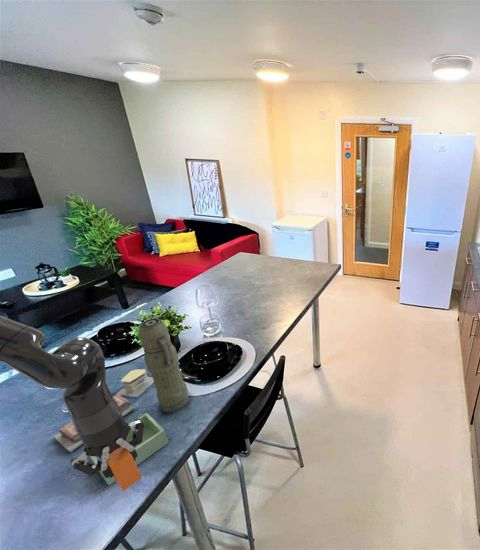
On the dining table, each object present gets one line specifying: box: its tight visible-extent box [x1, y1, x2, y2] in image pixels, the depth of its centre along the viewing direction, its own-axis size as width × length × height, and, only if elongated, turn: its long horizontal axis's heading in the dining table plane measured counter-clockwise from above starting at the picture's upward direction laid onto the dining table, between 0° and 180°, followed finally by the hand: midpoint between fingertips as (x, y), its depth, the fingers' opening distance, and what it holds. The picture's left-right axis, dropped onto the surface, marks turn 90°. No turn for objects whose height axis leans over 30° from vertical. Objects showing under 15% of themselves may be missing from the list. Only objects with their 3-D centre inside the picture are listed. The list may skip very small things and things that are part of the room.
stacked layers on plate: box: [116, 368, 154, 398], centre depth 111 cm, size 10×9×6 cm
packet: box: [108, 446, 143, 492], centre depth 72 cm, size 4×7×8 cm, turn 58°
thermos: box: [138, 318, 190, 413], centre depth 99 cm, size 9×12×35 cm
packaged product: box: [53, 393, 135, 453], centre depth 96 cm, size 18×5×10 cm
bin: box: [88, 412, 169, 486], centre depth 88 cm, size 16×12×6 cm
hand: (121, 467), depth 72 cm, fingers closed on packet, 4 cm apart
